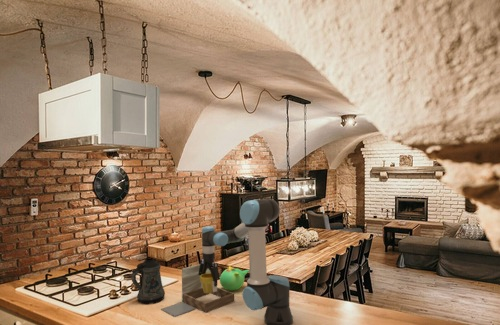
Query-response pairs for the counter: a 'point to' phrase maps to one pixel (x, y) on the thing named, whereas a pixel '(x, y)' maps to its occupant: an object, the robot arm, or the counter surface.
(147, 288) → the beer stein
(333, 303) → the counter surface
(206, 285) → the plant pot
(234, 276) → the toy bird
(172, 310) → the slate pad
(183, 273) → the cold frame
